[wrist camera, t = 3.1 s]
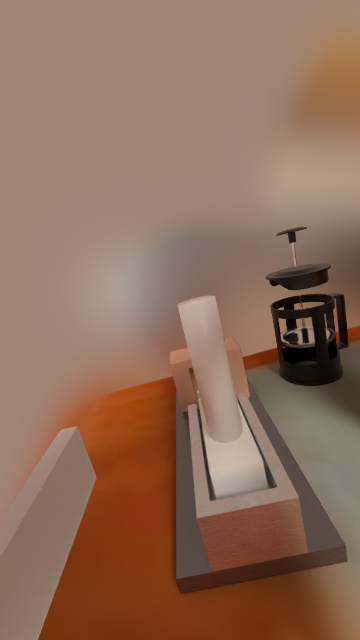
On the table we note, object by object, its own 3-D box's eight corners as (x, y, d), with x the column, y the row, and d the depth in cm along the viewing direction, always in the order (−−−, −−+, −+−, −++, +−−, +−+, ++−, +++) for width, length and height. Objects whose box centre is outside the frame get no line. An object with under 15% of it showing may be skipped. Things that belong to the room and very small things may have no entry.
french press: (292, 393, 38) (267, 234, 33) (267, 367, 48) (245, 240, 42) (368, 373, 39) (356, 212, 33) (329, 351, 48) (314, 222, 42)
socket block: (241, 381, 42) (232, 337, 40) (250, 397, 37) (240, 347, 36) (181, 394, 43) (170, 351, 41) (182, 412, 38) (169, 364, 36)
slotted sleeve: (246, 382, 45) (239, 347, 43) (347, 561, 18) (338, 489, 17) (177, 397, 45) (168, 364, 44) (181, 594, 19) (158, 526, 17)
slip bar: (236, 412, 32) (208, 284, 28) (271, 502, 20) (232, 303, 16) (203, 420, 32) (171, 293, 28) (219, 513, 20) (169, 318, 17)
